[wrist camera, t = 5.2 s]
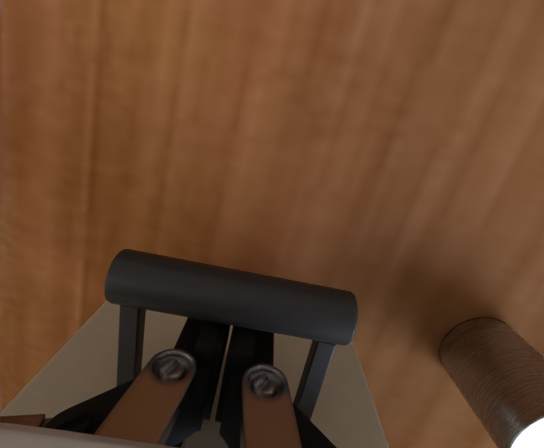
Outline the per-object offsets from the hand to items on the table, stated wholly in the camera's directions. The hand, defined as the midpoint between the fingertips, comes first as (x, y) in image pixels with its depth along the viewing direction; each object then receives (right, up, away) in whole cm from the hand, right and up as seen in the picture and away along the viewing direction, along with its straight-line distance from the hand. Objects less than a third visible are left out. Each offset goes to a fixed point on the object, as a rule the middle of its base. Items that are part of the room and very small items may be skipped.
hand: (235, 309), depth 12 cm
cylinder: (+13, -4, +5) cm, 14 cm away
